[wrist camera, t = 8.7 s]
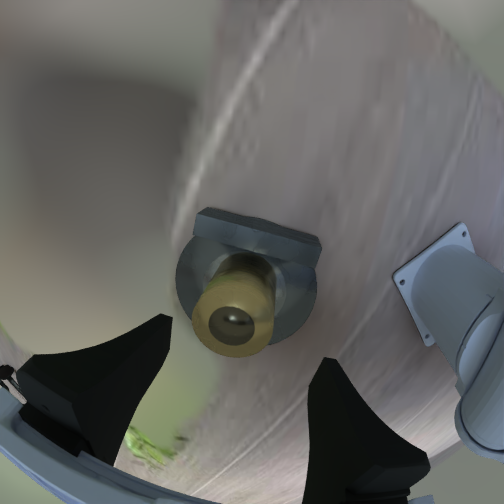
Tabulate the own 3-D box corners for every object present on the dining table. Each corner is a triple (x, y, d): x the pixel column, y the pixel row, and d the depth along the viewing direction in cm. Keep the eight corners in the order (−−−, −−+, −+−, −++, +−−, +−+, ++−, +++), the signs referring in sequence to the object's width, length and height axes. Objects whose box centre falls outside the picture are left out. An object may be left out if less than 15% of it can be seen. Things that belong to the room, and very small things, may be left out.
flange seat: (191, 200, 20) (174, 208, 17) (335, 239, 20) (344, 254, 17) (172, 320, 24) (158, 341, 21) (290, 354, 24) (290, 379, 20)
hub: (289, 287, 20) (289, 334, 15) (242, 318, 22) (228, 369, 16) (249, 239, 20) (234, 273, 14) (203, 275, 21) (175, 317, 15)
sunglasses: (11, 360, 33) (-2, 377, 29) (49, 402, 38) (39, 419, 34) (-4, 361, 36) (-14, 375, 31) (30, 399, 40) (21, 413, 36)
